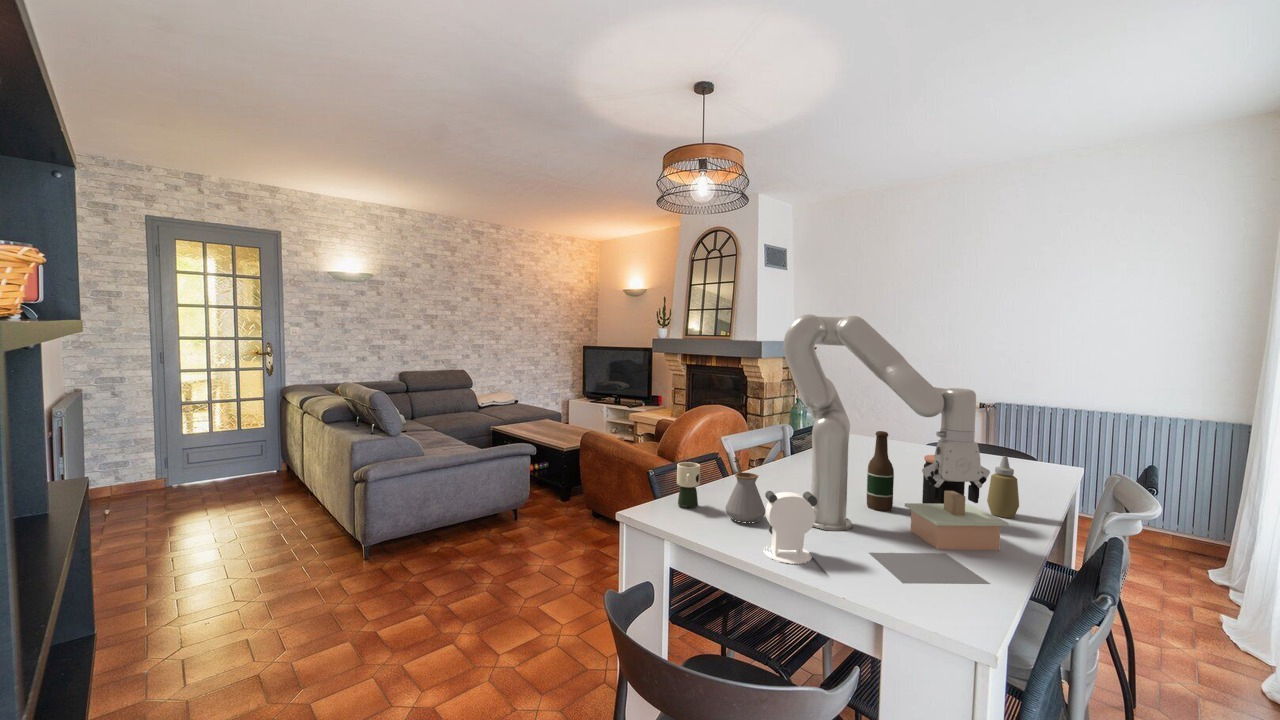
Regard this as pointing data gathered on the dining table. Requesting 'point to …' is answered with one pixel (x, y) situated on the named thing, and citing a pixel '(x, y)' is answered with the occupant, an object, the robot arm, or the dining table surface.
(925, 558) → the mat
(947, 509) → the lid
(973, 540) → the wooden cubby box
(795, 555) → the panda figurine
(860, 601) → the dining table surface
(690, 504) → the character mug
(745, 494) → the coffee pot
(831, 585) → the dining table surface
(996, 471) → the squeeze bottle
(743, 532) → the dining table surface
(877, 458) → the beer bottle
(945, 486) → the coffee jar
